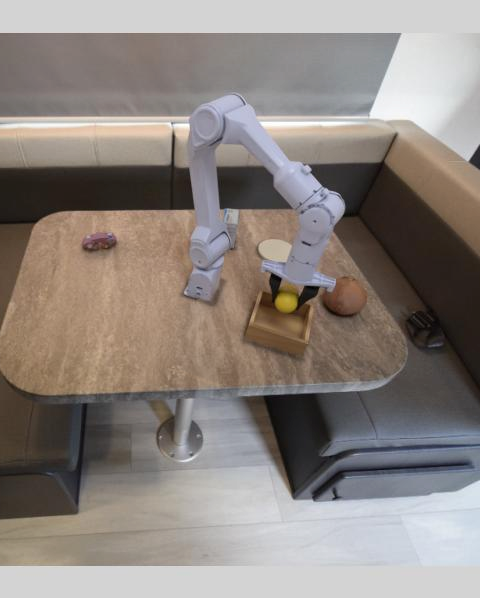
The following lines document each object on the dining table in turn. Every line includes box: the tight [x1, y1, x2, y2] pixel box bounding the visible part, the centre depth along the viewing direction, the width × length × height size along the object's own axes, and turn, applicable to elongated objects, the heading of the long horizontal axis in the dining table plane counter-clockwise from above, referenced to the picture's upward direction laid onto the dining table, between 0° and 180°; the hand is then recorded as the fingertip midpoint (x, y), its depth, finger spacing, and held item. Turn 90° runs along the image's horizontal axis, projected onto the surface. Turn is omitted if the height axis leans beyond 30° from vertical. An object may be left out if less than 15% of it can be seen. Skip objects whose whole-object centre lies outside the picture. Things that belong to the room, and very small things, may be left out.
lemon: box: [275, 284, 300, 313], centre depth 76 cm, size 7×5×5 cm, turn 157°
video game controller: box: [81, 231, 117, 251], centre depth 100 cm, size 10×5×7 cm, turn 106°
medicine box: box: [221, 207, 240, 250], centre depth 103 cm, size 8×4×9 cm, turn 168°
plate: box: [257, 238, 293, 262], centre depth 102 cm, size 11×11×1 cm
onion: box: [323, 274, 368, 317], centre depth 84 cm, size 10×9×10 cm
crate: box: [244, 288, 315, 357], centre depth 80 cm, size 13×13×5 cm
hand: (285, 303), depth 77 cm, fingers closed on lemon, 4 cm apart
